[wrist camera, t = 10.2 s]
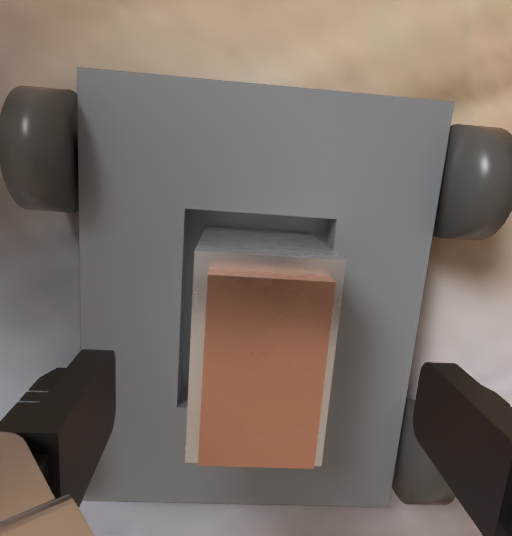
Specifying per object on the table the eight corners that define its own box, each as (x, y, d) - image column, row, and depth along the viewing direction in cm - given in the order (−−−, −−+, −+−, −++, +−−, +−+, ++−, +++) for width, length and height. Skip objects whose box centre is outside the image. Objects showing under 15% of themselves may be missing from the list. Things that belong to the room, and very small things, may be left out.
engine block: (205, 225, 18) (192, 255, 12) (310, 232, 19) (353, 265, 12) (198, 377, 20) (182, 479, 13) (295, 381, 20) (326, 483, 14)
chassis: (51, 76, 17) (-7, 45, 13) (467, 113, 19) (537, 96, 14) (60, 465, 21) (17, 539, 17) (406, 474, 23) (447, 545, 18)
